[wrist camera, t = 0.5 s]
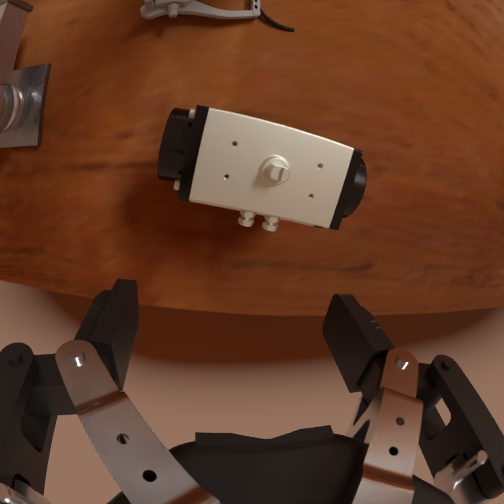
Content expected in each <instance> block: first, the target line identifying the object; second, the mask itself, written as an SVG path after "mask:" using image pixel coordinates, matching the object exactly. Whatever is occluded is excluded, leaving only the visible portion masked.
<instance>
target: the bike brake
mask: <svg viewBox="0 0 504 504" xmlns="http://www.w3.org/2000/svg"><path fill="white" fill-rule="evenodd" d="M252 2H253V4H252ZM144 3H145V5H144V6H142V7H141V9H140V12H141V17H142V18H145V19H154V18H156V17H159V16H162V15H168V14H169V17H171V18H174V17H177V14H191V15H199V16H206V17H212V18H218V19H250V18H257V17H258V16H259V15H261V16H262V17H263V18H264V19H265V20H267V21H268V22H269V23H271V24H273V25H274V26H276V27H278V28H281V29H283V30H286V31H291V32H294V28H289V27H286V26H283V25H280V24H278V23H276V22H275V21H273V20H272V19H270V18H269V17H268V16H267V15H266V14H265V13H264V12H263V11H262V10H261V8H260V0H251V2H250V10H244V11H228V10H222V9H217V8H214V7H211V6H208V5H206V4H203V3H201V2H198V1H196V0H156V2H153V0H144ZM252 8H253V10H252Z"/></svg>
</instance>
